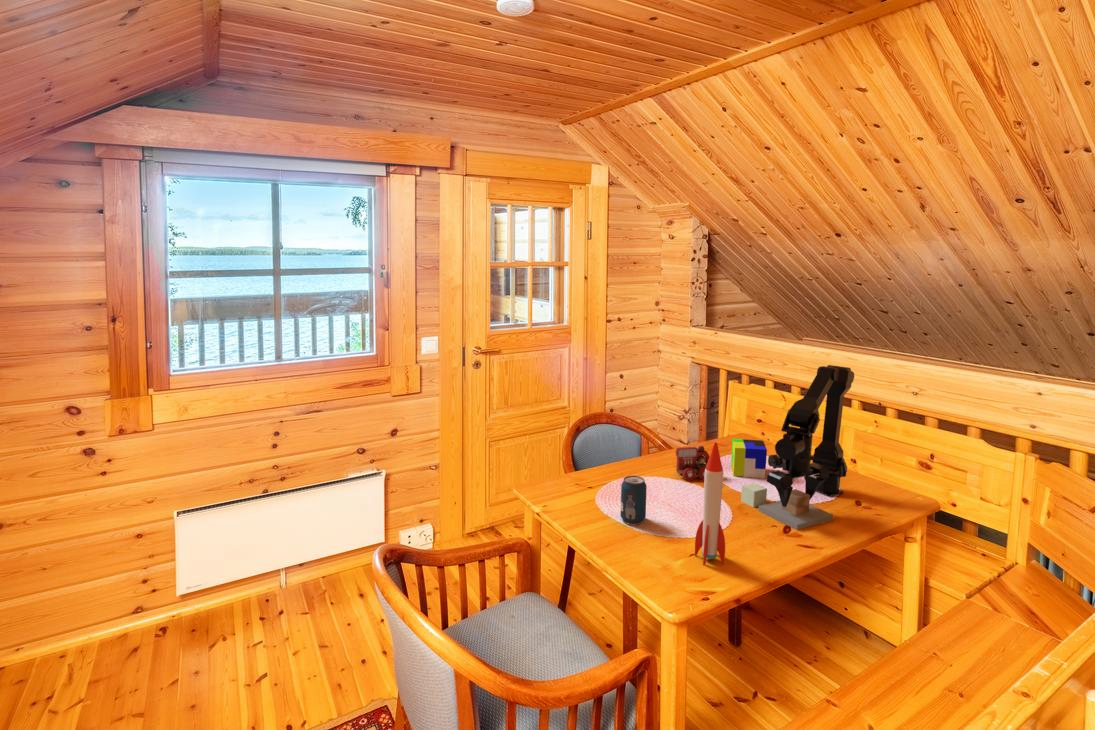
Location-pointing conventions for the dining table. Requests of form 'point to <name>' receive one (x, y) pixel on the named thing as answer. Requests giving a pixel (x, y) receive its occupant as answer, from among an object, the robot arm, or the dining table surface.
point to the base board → (793, 520)
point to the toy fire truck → (691, 462)
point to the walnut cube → (798, 502)
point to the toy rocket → (711, 511)
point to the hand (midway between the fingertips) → (795, 503)
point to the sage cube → (754, 494)
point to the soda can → (633, 499)
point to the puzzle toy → (748, 458)
